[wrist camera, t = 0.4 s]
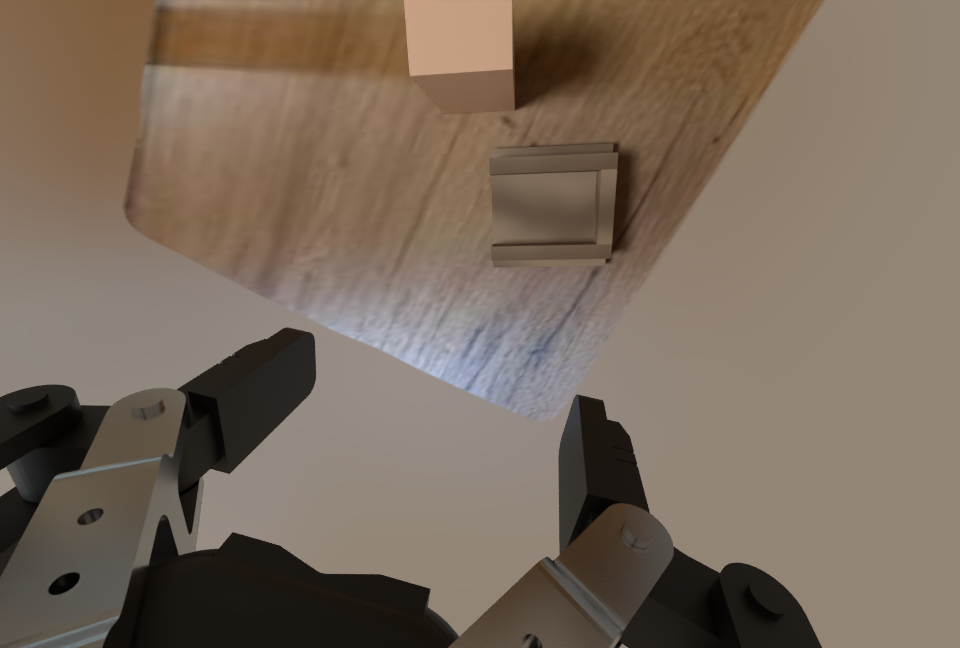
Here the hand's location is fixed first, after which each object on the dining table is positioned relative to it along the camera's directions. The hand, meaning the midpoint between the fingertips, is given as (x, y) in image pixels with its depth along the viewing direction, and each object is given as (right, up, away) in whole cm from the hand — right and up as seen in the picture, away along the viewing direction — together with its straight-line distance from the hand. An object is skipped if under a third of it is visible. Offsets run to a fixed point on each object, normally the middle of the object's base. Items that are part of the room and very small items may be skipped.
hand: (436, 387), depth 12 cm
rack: (+7, +12, +23) cm, 27 cm away
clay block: (+1, +22, +21) cm, 30 cm away
